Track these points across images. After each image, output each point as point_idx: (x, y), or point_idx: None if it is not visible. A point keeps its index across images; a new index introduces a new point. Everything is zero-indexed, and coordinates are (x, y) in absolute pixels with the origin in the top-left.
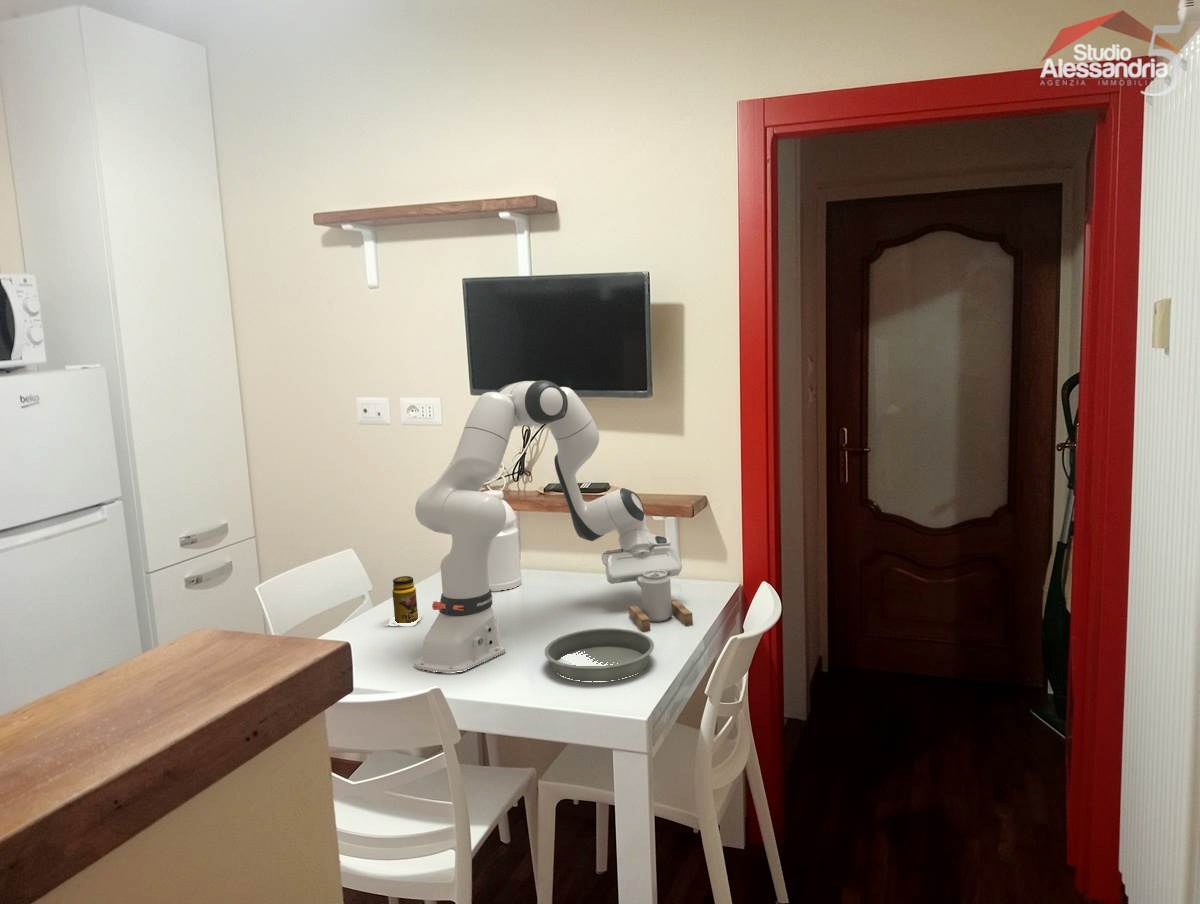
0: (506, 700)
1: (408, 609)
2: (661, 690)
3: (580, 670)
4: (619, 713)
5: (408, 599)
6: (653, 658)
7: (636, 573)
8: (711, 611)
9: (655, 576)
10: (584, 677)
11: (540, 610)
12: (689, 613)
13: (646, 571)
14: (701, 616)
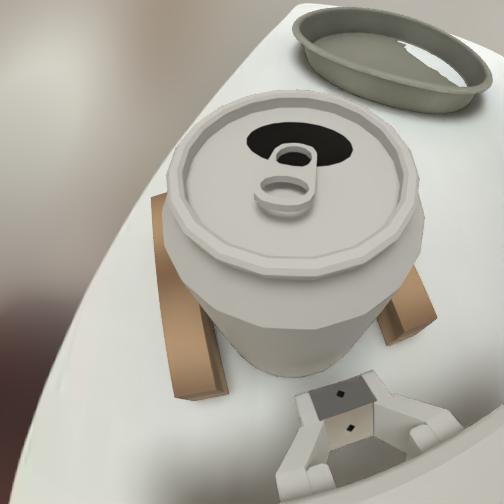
0: (454, 36)
1: None
2: (281, 21)
3: (395, 21)
4: (325, 6)
5: None
6: (297, 67)
7: (489, 422)
8: (72, 354)
9: (294, 331)
10: (390, 30)
11: None
12: (161, 194)
13: (395, 480)
14: (115, 306)
